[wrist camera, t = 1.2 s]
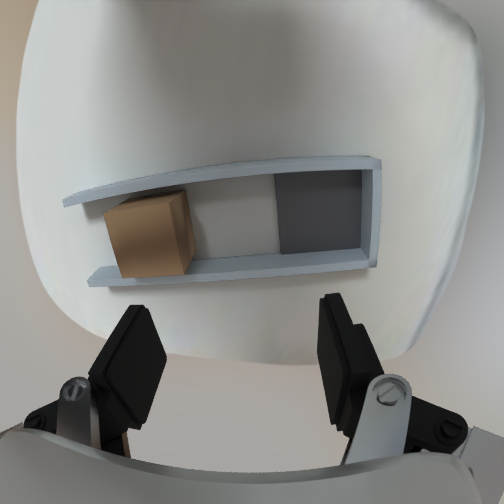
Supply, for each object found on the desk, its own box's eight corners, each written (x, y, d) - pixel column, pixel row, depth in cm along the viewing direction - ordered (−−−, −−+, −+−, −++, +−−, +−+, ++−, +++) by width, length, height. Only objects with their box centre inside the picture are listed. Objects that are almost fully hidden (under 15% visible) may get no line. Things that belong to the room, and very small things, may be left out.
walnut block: (128, 198, 24) (103, 213, 20) (185, 189, 24) (168, 202, 19) (142, 254, 27) (122, 278, 22) (196, 249, 26) (184, 274, 22)
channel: (79, 192, 24) (62, 199, 21) (367, 156, 22) (381, 159, 19) (101, 273, 28) (89, 287, 25) (365, 253, 26) (376, 267, 23)
